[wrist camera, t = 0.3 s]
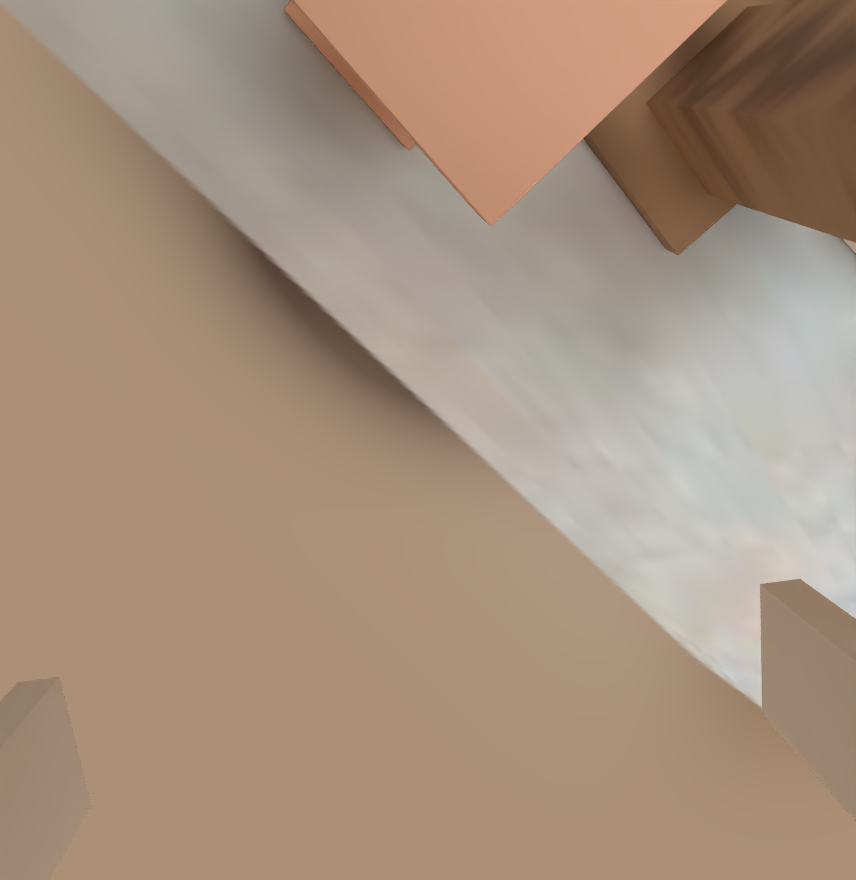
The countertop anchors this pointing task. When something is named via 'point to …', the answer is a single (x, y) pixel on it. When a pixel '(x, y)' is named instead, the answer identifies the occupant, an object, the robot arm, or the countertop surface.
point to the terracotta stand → (496, 75)
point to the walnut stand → (743, 122)
